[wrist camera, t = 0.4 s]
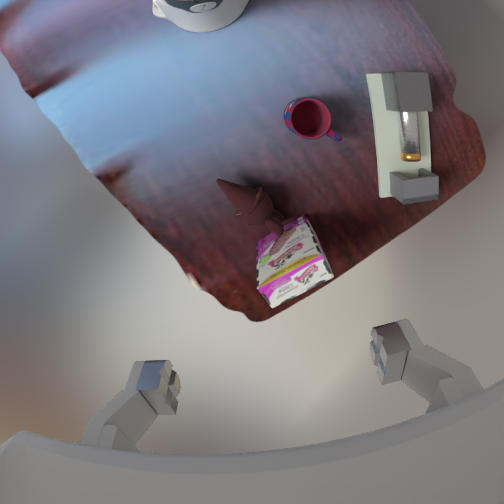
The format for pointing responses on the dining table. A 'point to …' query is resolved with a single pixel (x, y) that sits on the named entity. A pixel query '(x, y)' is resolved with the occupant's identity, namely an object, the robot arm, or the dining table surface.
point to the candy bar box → (290, 262)
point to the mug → (309, 119)
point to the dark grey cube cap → (407, 91)
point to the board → (394, 139)
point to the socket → (414, 187)
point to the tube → (409, 136)
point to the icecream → (253, 206)
